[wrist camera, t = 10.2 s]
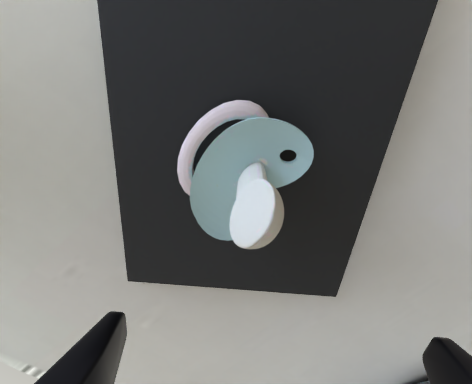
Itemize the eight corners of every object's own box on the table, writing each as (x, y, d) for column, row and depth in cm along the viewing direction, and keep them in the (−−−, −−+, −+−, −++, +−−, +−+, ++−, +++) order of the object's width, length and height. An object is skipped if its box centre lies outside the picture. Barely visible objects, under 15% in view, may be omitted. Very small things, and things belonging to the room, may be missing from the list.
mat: (447, -46, 13) (455, -49, 13) (334, 291, 23) (336, 297, 22) (92, -86, 13) (86, -89, 12) (129, 276, 22) (127, 281, 22)
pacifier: (158, 177, 18) (241, 229, 19) (117, 243, 12) (237, 308, 14) (230, 69, 15) (321, 139, 16) (218, 90, 9) (358, 193, 11)
